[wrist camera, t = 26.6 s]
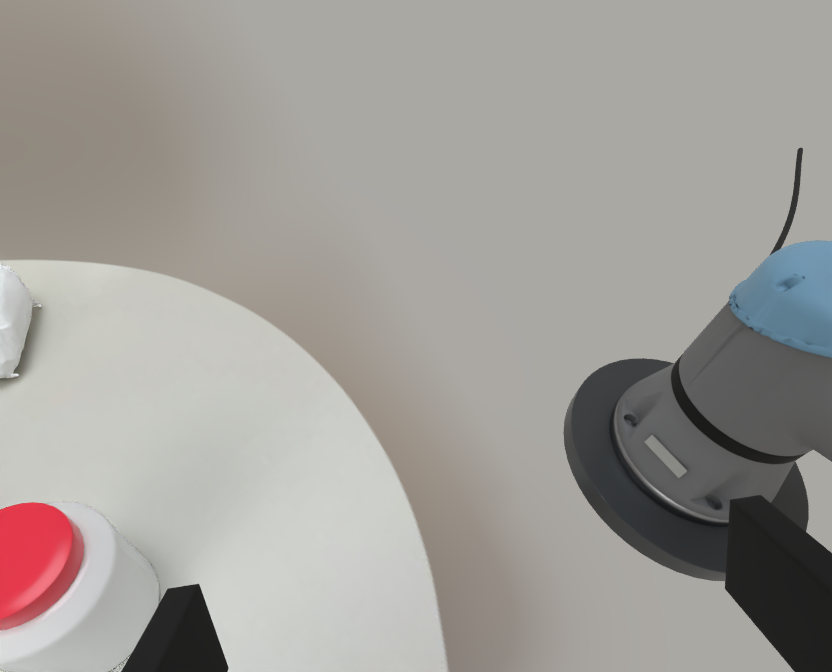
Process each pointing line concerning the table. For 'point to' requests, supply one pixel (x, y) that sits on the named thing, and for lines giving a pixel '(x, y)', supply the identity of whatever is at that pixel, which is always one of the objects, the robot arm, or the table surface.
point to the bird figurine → (13, 319)
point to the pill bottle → (69, 590)
